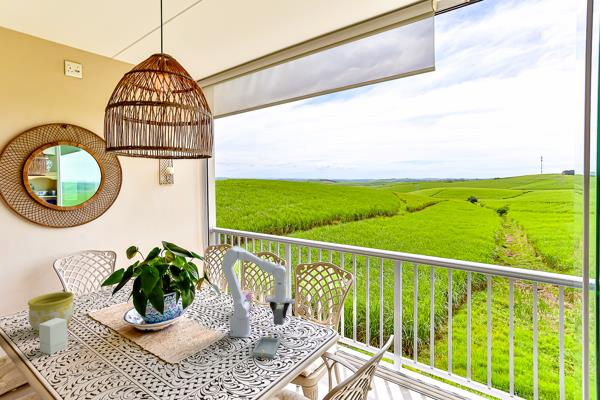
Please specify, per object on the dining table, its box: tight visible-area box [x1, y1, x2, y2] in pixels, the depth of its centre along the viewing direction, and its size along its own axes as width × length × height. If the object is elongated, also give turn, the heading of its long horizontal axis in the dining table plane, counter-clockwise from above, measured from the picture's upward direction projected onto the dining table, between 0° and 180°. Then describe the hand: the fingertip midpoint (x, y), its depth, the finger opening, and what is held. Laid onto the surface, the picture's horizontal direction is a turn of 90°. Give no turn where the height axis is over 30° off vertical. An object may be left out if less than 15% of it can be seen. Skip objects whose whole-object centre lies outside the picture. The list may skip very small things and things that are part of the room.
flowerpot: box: [27, 291, 75, 335], centre depth 150 cm, size 18×18×16 cm
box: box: [241, 289, 252, 313], centre depth 172 cm, size 10×6×12 cm, turn 168°
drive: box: [273, 303, 286, 326], centre depth 146 cm, size 4×8×7 cm, turn 171°
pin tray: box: [251, 333, 281, 360], centre depth 133 cm, size 10×15×4 cm, turn 171°
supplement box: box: [38, 318, 69, 355], centre depth 132 cm, size 7×7×13 cm
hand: (279, 317), depth 146 cm, fingers closed on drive, 4 cm apart
